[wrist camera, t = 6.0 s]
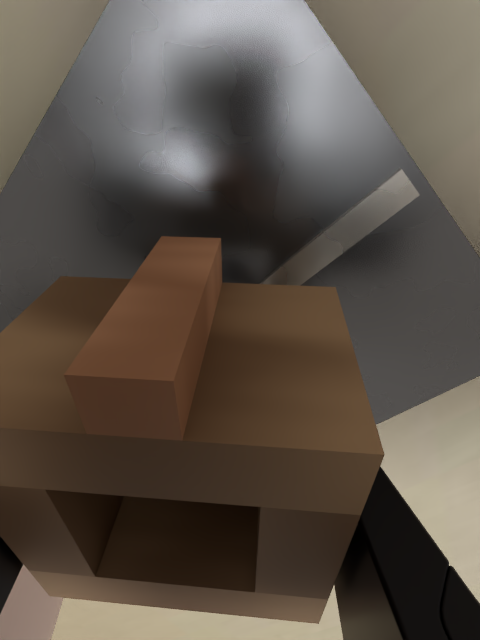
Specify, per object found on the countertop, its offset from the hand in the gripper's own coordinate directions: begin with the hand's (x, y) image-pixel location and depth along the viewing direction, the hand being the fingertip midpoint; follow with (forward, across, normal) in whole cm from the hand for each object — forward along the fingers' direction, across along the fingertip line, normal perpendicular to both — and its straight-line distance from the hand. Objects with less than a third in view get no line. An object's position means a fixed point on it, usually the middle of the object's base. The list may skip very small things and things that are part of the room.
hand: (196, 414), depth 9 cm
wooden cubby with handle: (+1, 0, 0) cm, 1 cm away
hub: (+4, 0, 0) cm, 5 cm away
